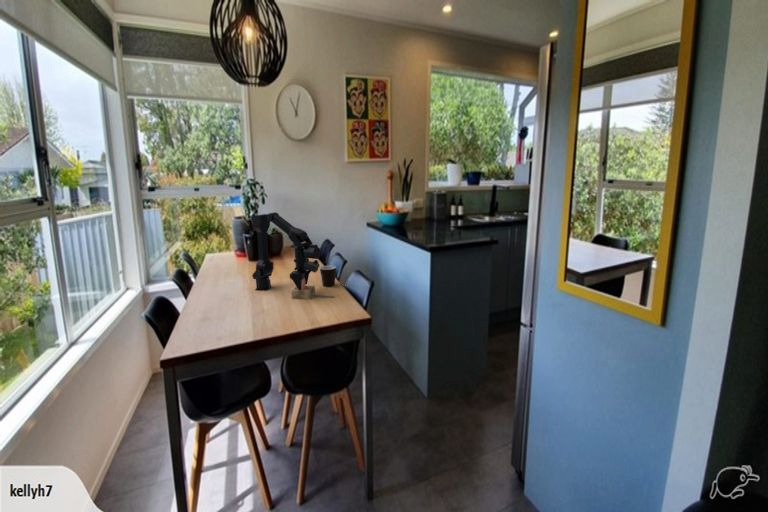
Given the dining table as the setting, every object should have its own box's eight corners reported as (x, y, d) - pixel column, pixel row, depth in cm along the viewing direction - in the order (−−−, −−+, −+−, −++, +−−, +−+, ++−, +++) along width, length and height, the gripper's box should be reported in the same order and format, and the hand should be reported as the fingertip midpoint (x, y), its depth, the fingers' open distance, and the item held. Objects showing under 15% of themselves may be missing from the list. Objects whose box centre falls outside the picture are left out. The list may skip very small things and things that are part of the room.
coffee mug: (333, 288, 196) (332, 270, 193) (318, 287, 197) (317, 269, 195) (340, 281, 207) (339, 264, 204) (326, 280, 208) (325, 263, 206)
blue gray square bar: (313, 296, 184) (313, 295, 184) (314, 295, 185) (314, 294, 185) (333, 297, 181) (333, 297, 181) (334, 297, 182) (334, 296, 182)
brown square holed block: (291, 298, 181) (291, 291, 180) (298, 292, 189) (297, 285, 188) (309, 299, 180) (309, 291, 179) (315, 293, 188) (314, 285, 188)
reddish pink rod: (300, 296, 184) (299, 279, 181) (302, 295, 186) (301, 277, 184) (305, 296, 183) (304, 279, 181) (306, 295, 186) (305, 278, 184)
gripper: (311, 261, 170) (313, 293, 174) (322, 252, 188) (323, 281, 192) (287, 261, 171) (290, 293, 175) (301, 252, 189) (303, 281, 193)
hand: (303, 287), depth 184 cm, fingers open, 9 cm apart
